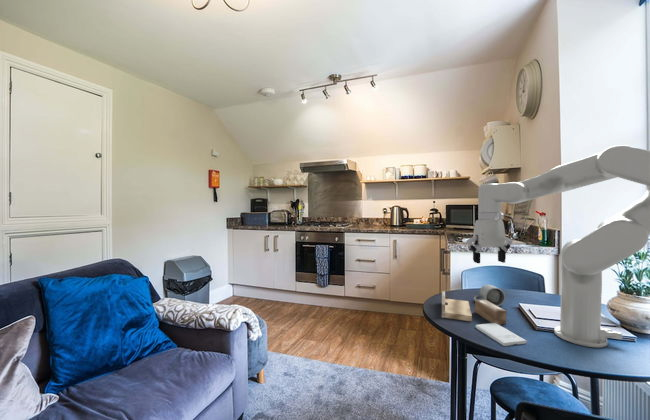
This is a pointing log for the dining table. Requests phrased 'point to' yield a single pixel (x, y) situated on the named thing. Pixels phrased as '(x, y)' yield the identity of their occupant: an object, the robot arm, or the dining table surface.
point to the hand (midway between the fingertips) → (489, 262)
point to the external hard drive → (500, 334)
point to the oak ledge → (455, 309)
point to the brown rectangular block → (490, 311)
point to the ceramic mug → (491, 295)
